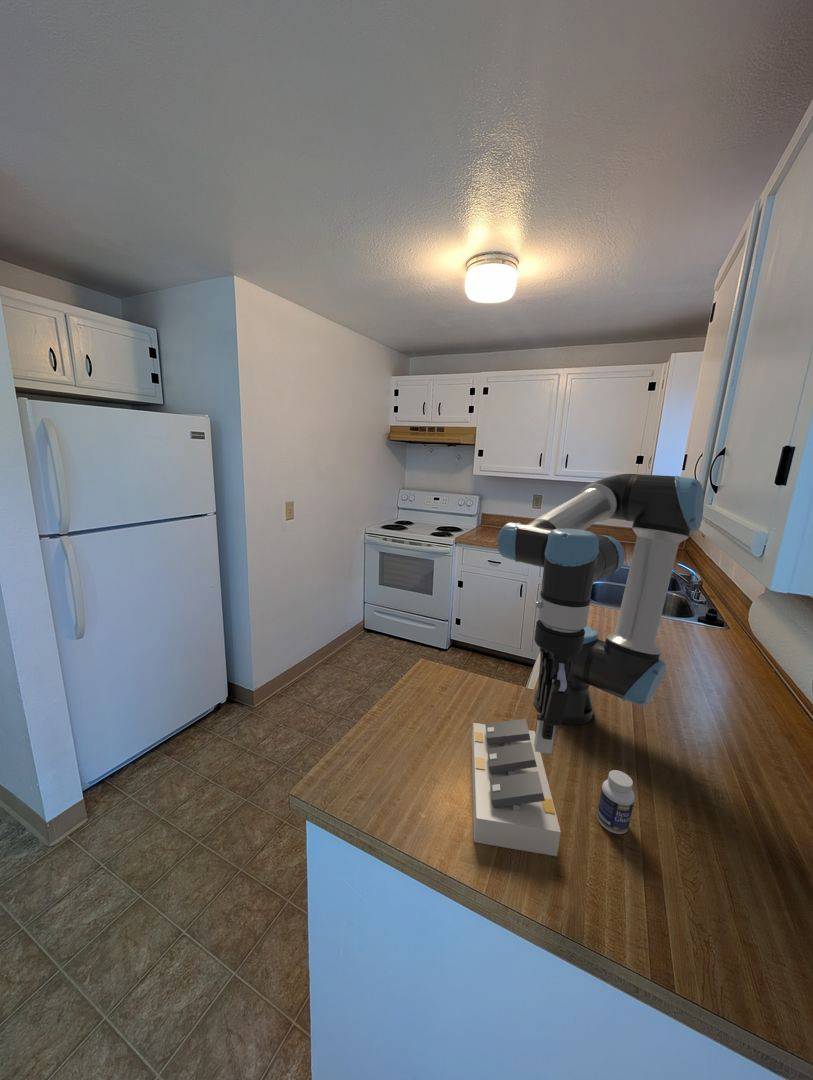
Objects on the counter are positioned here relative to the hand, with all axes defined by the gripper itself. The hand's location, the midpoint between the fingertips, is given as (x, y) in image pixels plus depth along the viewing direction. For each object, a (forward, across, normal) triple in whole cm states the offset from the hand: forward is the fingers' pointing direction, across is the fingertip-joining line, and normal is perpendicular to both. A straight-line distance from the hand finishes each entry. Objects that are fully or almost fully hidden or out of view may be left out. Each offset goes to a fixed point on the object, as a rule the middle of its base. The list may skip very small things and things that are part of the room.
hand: (542, 749), depth 71 cm
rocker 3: (+9, 0, -4) cm, 10 cm away
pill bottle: (+16, -4, +15) cm, 23 cm away
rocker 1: (+9, -16, -4) cm, 19 cm away
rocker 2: (+9, -8, -4) cm, 12 cm away
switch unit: (+16, -8, -4) cm, 19 cm away
